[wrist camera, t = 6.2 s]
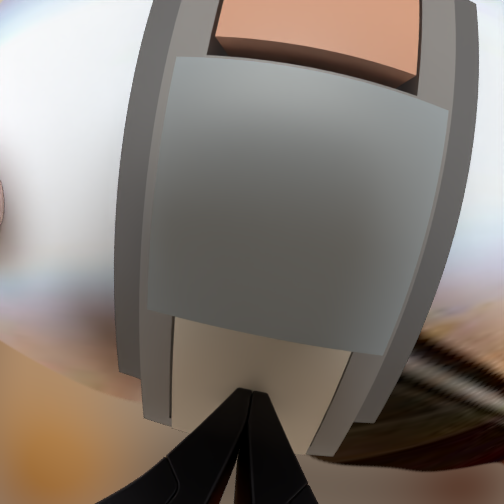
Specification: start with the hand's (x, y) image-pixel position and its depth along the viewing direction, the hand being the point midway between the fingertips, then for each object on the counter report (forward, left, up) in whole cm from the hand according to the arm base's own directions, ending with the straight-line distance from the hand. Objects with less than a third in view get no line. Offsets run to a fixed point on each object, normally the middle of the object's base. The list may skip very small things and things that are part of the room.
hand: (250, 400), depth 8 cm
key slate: (0, -6, -1) cm, 6 cm away
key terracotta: (0, -11, -3) cm, 11 cm away
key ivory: (0, 0, -2) cm, 2 cm away
